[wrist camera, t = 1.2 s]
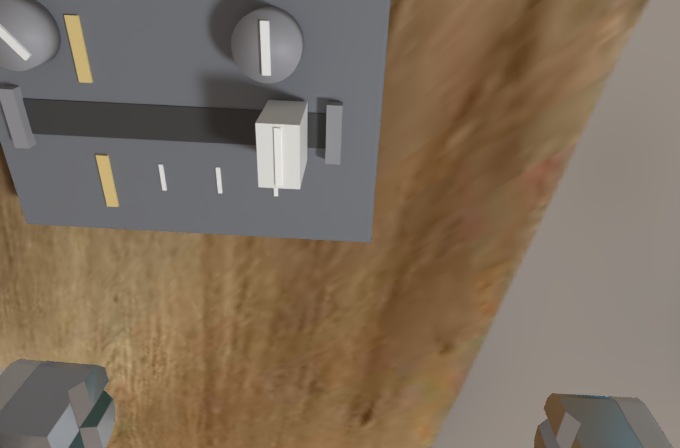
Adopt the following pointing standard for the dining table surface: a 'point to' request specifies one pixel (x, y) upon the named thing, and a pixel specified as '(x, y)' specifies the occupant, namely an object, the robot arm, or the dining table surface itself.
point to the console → (191, 112)
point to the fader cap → (282, 144)
